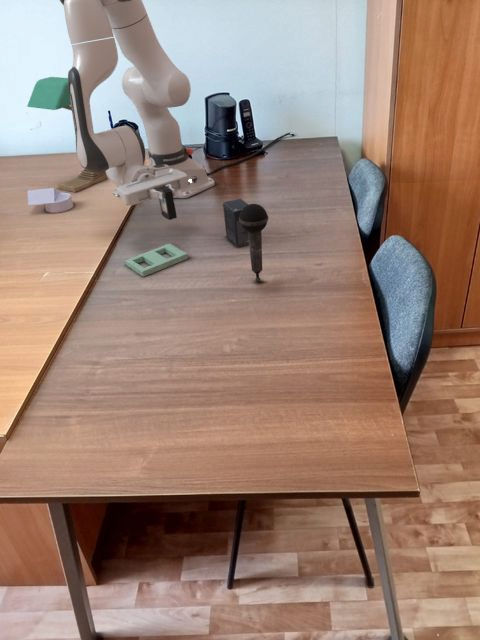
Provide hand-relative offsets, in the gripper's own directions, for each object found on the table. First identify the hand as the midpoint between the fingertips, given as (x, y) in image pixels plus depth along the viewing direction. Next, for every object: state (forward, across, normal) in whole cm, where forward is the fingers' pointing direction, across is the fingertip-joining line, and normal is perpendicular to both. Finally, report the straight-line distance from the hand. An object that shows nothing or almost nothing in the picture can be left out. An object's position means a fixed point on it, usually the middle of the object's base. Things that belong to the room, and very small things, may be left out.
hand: (168, 194), depth 143 cm
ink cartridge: (-1, 0, +7) cm, 7 cm away
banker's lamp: (-70, +5, +15) cm, 72 cm away
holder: (+5, -10, +15) cm, 18 cm away
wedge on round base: (-55, -14, +15) cm, 59 cm away
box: (+11, +14, +15) cm, 23 cm away
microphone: (+33, +2, +15) cm, 36 cm away
